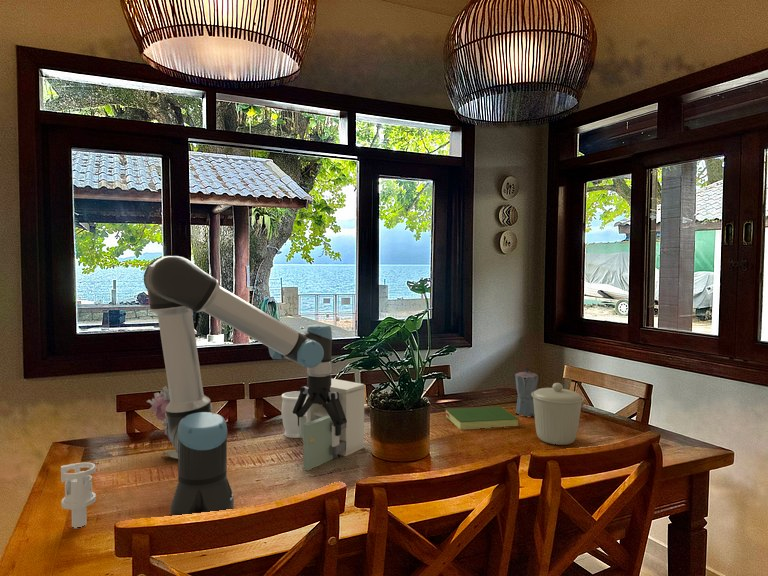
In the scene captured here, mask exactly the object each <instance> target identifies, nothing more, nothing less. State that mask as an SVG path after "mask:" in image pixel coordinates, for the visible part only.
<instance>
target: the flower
mask: <svg viewBox="0 0 768 576" xmlns="http://www.w3.org/2000/svg"><path fill="white" fill-rule="evenodd" d="M153 395H154V397H153V398H151V399H148V400H146V403H148V404H150V405H151V407H150V408H149V411H150V412H151V413H152V414H154V413H155V416H156V419H157V420H158V421H159V420H161V424H162V425H163V427H167V416H166V409H165V408H166V406H167V405H168V404H169V403H170V394H169V388H168V387H167V385H164V386H163V387H162V390H160V393H159V392H155V393H153ZM211 409H212V410H213V405H212V404H211ZM164 435H166V436H167V431H166V428H165V429H164ZM165 455H168V456H169V457H170V458H172V459H177V460H178V453H177V451H176V449H172V450H167V451H164V452H163V453H162V454H161V458H162V457H163V456H165Z"/></svg>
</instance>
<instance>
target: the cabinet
mask: <svg viewBox="0 0 768 576" xmlns="http://www.w3.org/2000/svg"><path fill="white" fill-rule="evenodd" d="M308 388H309V387H308ZM365 389H366V388H365V383H360V382H354V381H349V380H343V379H339V378H338V379H336V378H332V377H331V387H330V391H331V392H338V393H339V400H340V403H341V406H342V408H343V411H344V414H345V417H346V420H347V423H345V424H342V425H341V435H339V445H337V446H335V447H332V445H331V446H330V455H333V456H335V455H337V454H338V455H339V456H344V457H347V456H349V455H351V454H354V453H355V452H358V451H360V450H362V449H364V447H365ZM308 397H309V394H307V399H308ZM326 403H328V402H326ZM327 415H329V414H328V413H327V411H326V409H325V408H324V407H323V406H322V405H319V404H314V403H313V404H312V405H311V407H310V408H309V409H308V411H307V423H308V422H311V421H314V420H316V419H319V418H322V417H325V416H327ZM332 425H334V423H333V422H331V432H332Z"/></svg>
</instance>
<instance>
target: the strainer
mask: <svg viewBox="0 0 768 576" xmlns="http://www.w3.org/2000/svg"><path fill="white" fill-rule="evenodd" d="M83 468H87V470H82V471H81V469H83ZM88 468H89V469H88ZM70 470H74V472H71V473H70V472H69V471H70ZM95 472H96V464H95V463H94V462H87V461H86V462H78V463H70V464H64V465H61V466H60V482H61V483H64V497H62V499H61V501H60V502H61V508H62V509H64V510H71V528H72V527H74V528H73V529H78V528H77V527H81V528H83V527H82V526H84V525H85V526H87V521H88V520H87V507H88V506H91V505H92V504H94V503H95V502H96V501H97V493H95V492H93V476H92V474H94V473H95ZM85 526H84V527H85Z"/></svg>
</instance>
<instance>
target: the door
mask: <svg viewBox="0 0 768 576" xmlns="http://www.w3.org/2000/svg"><path fill="white" fill-rule="evenodd" d="M331 422H333V421H332V420H331V418H330V416H329V415H327V416H325V417H322V418H319V419H316V420H314V421H311V422H308V423H305V424H304V437H302V438H301V439H302V442H303V446H302V447H303V449H302V450H303V452H302V453H303V455H302V463H303V464H302V468H303V470H304V469H305V471H307V470H308V471H310V469H311V470H312V468H313V469H315V468H317V467H318V466H320V465H324V464H325V463H328V462H330V461H331V460H336V459H338V458H339V457H338V455H339V454H337V455H335V456H333V455H330V446H331V445H332V432H331ZM314 467H315V468H314Z"/></svg>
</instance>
